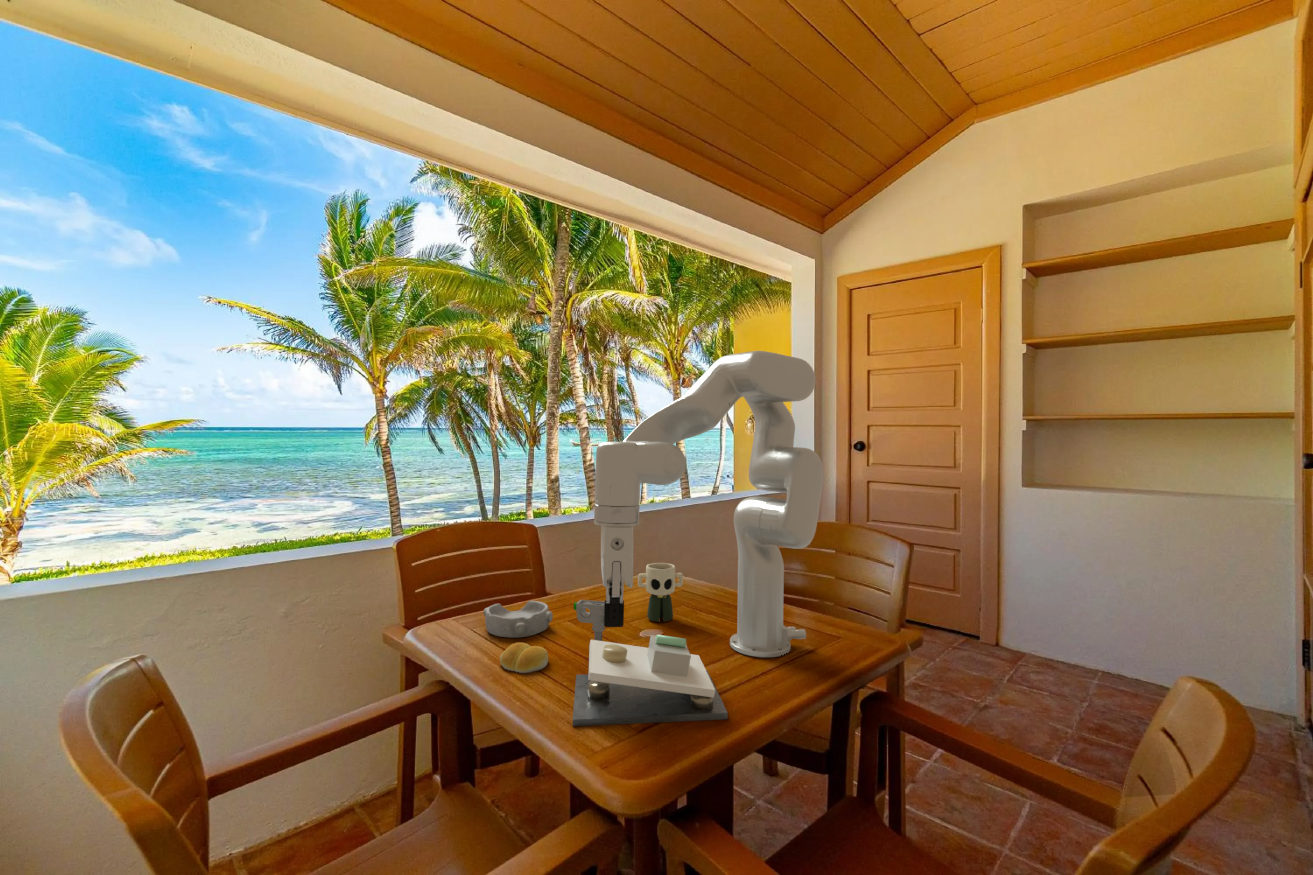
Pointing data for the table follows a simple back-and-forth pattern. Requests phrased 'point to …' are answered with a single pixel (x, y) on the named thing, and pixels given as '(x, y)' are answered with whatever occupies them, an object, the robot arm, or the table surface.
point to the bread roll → (524, 658)
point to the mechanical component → (591, 615)
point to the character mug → (660, 589)
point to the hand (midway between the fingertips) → (613, 625)
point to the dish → (518, 620)
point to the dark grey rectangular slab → (639, 704)
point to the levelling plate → (643, 672)
